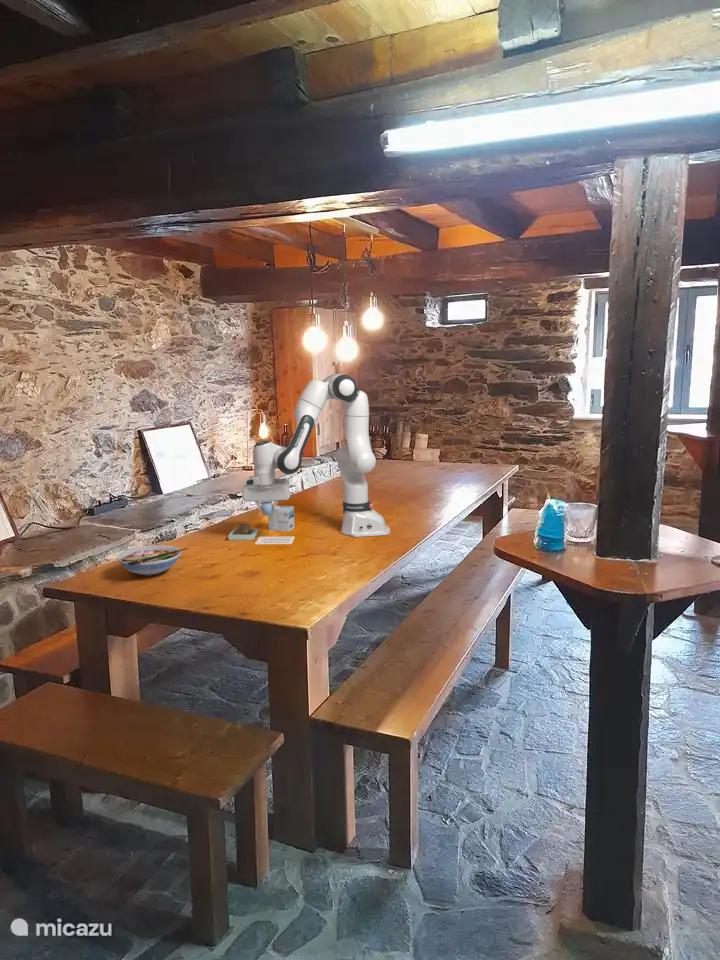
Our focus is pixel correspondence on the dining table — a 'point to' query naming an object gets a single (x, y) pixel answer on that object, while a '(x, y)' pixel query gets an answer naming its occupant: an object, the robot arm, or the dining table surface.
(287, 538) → the letter
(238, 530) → the walnut block
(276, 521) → the light bulb box
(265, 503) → the blue cylinder
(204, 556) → the dining table surface
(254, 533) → the tray
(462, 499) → the dining table surface
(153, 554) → the ramen bowl
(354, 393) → the robot arm
